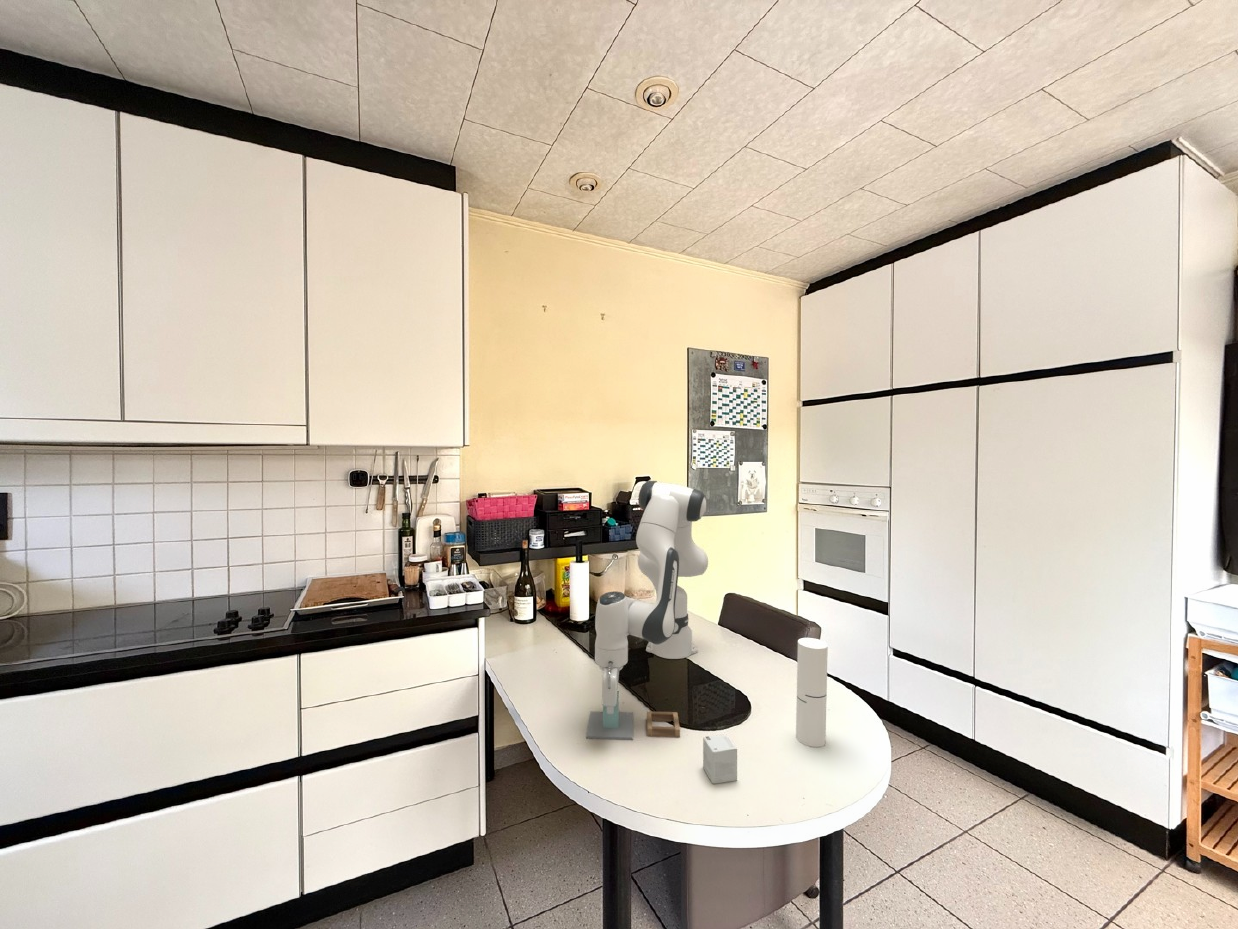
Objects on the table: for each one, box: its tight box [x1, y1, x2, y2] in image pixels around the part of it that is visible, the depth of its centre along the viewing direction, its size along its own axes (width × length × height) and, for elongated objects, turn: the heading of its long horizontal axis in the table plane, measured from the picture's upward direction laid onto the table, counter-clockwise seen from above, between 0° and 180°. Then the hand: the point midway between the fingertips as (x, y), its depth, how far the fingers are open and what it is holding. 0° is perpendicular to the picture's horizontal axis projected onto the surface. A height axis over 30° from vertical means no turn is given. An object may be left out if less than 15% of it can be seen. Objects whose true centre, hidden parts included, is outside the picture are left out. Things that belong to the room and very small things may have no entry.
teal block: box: [602, 690, 620, 728], centre depth 130 cm, size 4×4×8 cm
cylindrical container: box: [795, 637, 829, 748], centre depth 125 cm, size 7×7×25 cm
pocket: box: [646, 711, 681, 738], centre depth 130 cm, size 8×8×2 cm
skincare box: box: [702, 733, 738, 785], centre depth 111 cm, size 6×6×7 cm
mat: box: [585, 710, 634, 741], centre depth 130 cm, size 12×12×1 cm
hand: (610, 705), depth 130 cm, fingers open, 5 cm apart
